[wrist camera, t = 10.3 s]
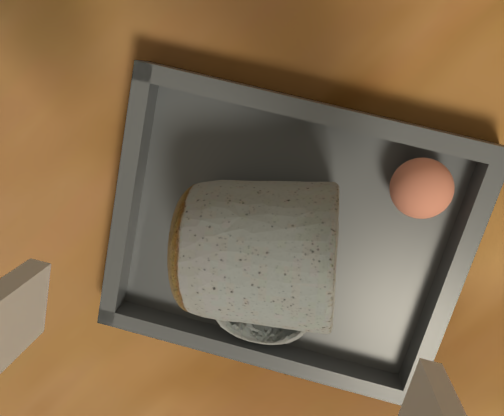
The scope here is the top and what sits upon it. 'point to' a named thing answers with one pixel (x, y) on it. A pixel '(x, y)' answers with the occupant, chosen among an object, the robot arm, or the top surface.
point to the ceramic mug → (257, 256)
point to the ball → (421, 188)
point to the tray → (350, 222)
